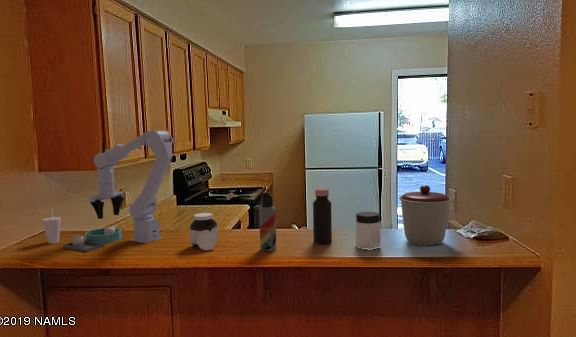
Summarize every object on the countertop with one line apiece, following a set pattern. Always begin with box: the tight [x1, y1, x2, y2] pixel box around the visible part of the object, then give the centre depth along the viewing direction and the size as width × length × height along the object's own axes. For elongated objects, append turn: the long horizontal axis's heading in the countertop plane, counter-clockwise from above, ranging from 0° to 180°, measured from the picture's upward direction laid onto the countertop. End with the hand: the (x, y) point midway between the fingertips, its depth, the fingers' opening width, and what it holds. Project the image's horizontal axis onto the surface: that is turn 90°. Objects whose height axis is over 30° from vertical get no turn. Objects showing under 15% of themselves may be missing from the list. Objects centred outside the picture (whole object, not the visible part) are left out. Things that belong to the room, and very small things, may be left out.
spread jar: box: [189, 212, 219, 251], centre depth 155 cm, size 12×11×12 cm
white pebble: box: [71, 235, 85, 247], centre depth 159 cm, size 4×4×4 cm
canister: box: [398, 184, 452, 246], centre depth 154 cm, size 18×18×21 cm
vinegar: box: [312, 188, 333, 245], centre depth 157 cm, size 7×7×20 cm
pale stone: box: [103, 226, 116, 235], centre depth 171 cm, size 4×4×4 cm
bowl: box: [84, 227, 123, 244], centre depth 169 cm, size 13×13×4 cm
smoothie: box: [42, 207, 62, 244], centre depth 165 cm, size 6×6×14 cm
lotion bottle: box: [258, 193, 277, 252], centre depth 150 cm, size 6×6×20 cm
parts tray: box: [62, 240, 106, 253], centre depth 157 cm, size 13×7×2 cm, turn 62°
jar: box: [355, 211, 381, 249], centre depth 150 cm, size 9×8×12 cm
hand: (108, 216), depth 170 cm, fingers open, 7 cm apart
